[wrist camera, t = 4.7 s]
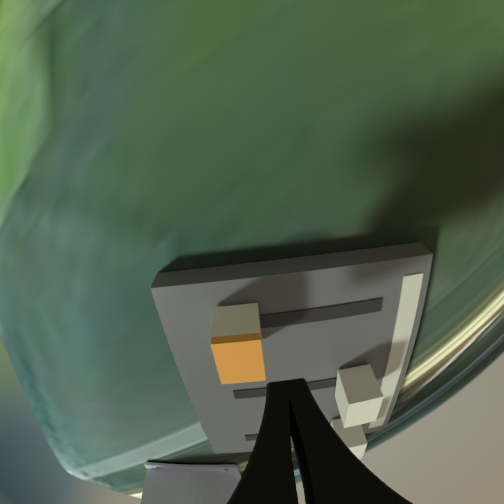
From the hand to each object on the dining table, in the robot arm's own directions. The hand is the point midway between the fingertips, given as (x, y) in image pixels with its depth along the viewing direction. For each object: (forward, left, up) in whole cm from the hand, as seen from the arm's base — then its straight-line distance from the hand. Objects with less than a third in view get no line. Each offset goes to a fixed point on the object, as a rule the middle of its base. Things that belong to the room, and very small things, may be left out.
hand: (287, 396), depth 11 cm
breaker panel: (+1, -5, -6) cm, 8 cm away
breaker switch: (-2, 0, -5) cm, 5 cm away
